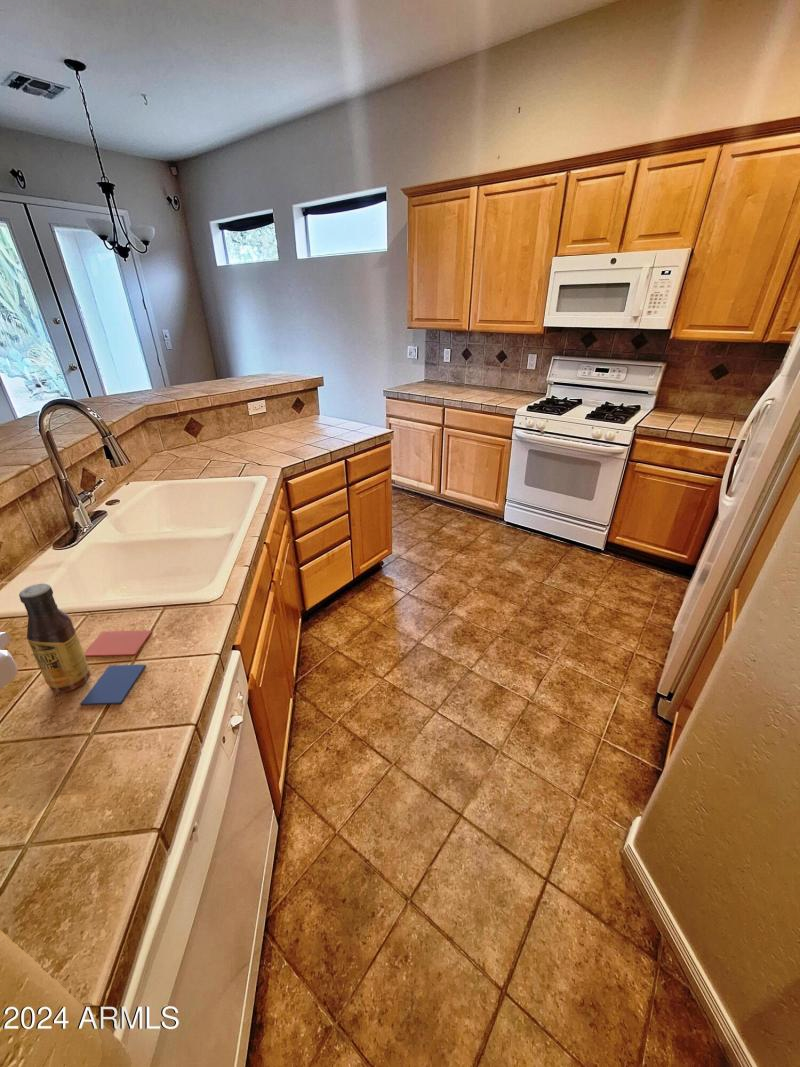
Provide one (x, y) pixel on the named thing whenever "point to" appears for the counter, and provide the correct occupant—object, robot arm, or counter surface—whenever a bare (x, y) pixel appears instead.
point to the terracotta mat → (117, 643)
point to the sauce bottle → (53, 640)
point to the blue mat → (113, 685)
